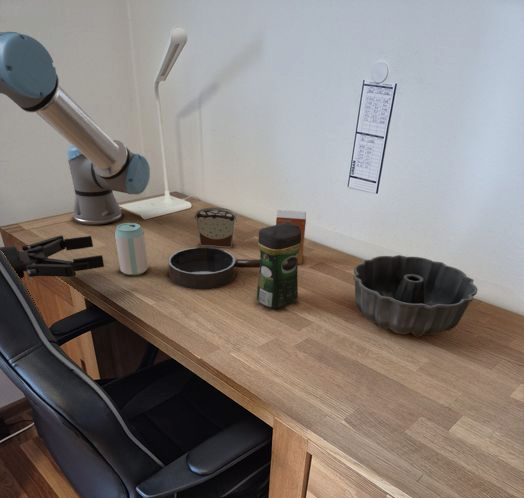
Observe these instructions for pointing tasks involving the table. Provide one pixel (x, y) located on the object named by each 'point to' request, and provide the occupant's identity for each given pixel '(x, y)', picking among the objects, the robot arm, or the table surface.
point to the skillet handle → (247, 263)
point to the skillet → (202, 267)
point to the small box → (296, 219)
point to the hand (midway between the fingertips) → (97, 250)
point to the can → (131, 249)
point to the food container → (215, 226)
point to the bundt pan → (412, 294)
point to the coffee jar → (278, 265)
